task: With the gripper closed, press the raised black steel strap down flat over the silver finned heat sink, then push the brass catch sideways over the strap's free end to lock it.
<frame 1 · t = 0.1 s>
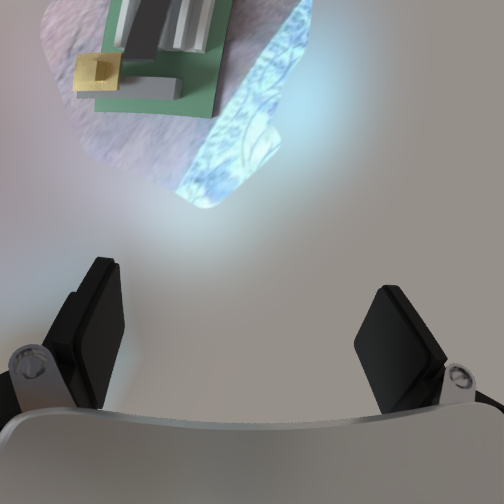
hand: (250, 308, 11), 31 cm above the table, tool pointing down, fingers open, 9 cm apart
strap: (157, 0, 22), point 8 cm above the table, hinge at 20.0°
board: (164, 29, 29), on the table
catch: (93, 71, 23), point 9 cm above the table, slide at 0.0 cm
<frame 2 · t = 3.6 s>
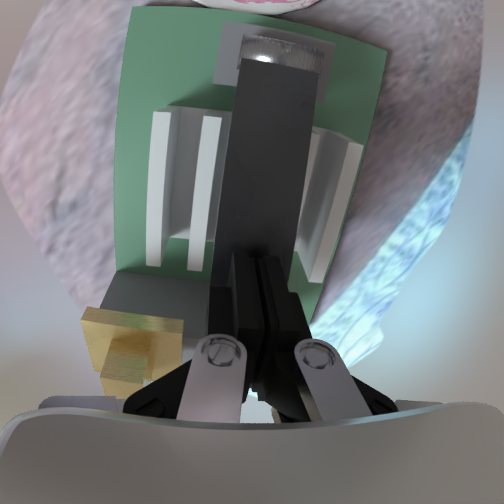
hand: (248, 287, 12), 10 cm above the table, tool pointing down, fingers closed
strap: (256, 218, 12), point 8 cm above the table, hinge at 17.1°, touching gripper
board: (233, 189, 20), on the table
catch: (130, 365, 14), point 9 cm above the table, slide at 0.0 cm
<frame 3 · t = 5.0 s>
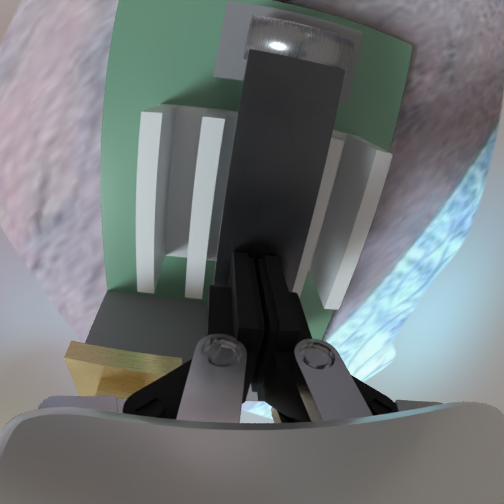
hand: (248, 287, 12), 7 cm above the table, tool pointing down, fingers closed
strap: (262, 230, 11), point 6 cm above the table, hinge at 2.3°, touching gripper
board: (237, 201, 17), on the table
catch: (122, 407, 12), point 9 cm above the table, slide at 0.0 cm
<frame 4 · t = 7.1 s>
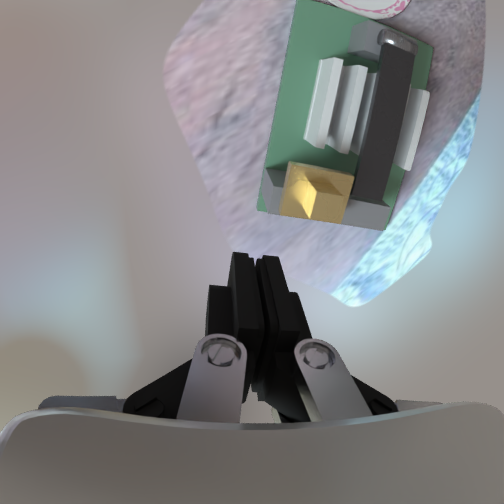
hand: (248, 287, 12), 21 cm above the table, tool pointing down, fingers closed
strap: (384, 114, 22), point 6 cm above the table, hinge at 2.2°
board: (349, 118, 28), on the table
catch: (320, 198, 22), point 10 cm above the table, slide at 0.0 cm
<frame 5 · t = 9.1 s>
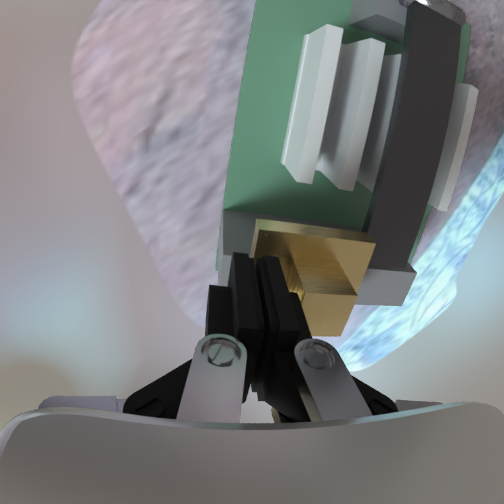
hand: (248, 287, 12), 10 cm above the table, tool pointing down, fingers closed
strap: (416, 122, 12), point 6 cm above the table, hinge at 2.2°
board: (353, 127, 18), on the table
catch: (313, 288, 13), point 9 cm above the table, slide at 0.6 cm, touching gripper
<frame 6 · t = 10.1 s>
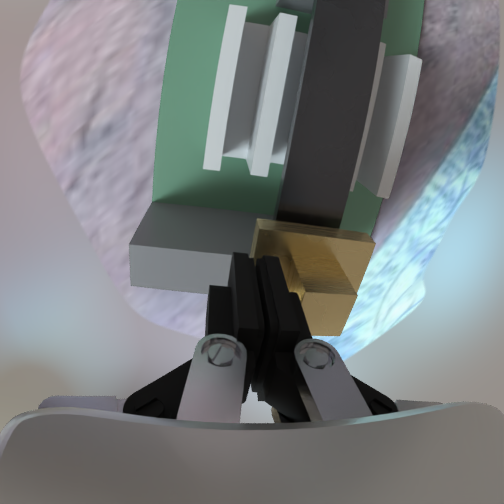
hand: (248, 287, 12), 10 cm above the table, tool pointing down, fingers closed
strap: (331, 96, 12), point 6 cm above the table, hinge at 2.2°
board: (287, 112, 18), on the table
catch: (313, 288, 13), point 9 cm above the table, slide at 5.0 cm, touching gripper
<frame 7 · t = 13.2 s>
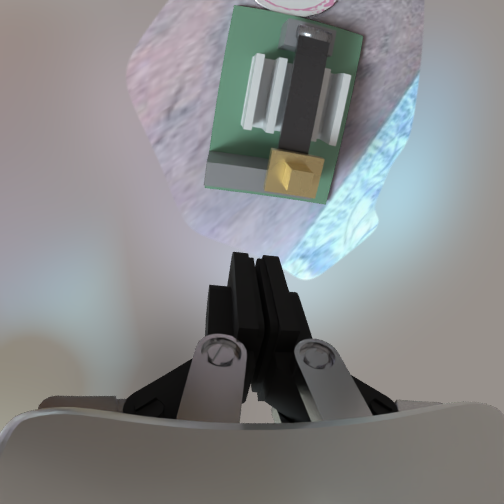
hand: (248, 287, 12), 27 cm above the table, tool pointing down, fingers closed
strap: (302, 96, 27), point 6 cm above the table, hinge at 2.2°
board: (283, 105, 33), on the table
catch: (296, 176, 28), point 10 cm above the table, slide at 5.2 cm
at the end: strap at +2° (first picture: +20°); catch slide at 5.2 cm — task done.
